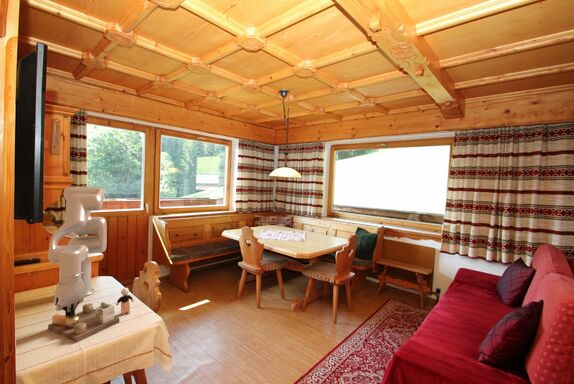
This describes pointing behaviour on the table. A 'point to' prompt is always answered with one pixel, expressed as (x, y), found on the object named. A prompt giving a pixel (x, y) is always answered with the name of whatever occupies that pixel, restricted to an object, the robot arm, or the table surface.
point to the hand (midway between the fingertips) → (70, 318)
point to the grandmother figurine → (125, 302)
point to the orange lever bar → (65, 320)
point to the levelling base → (88, 322)
